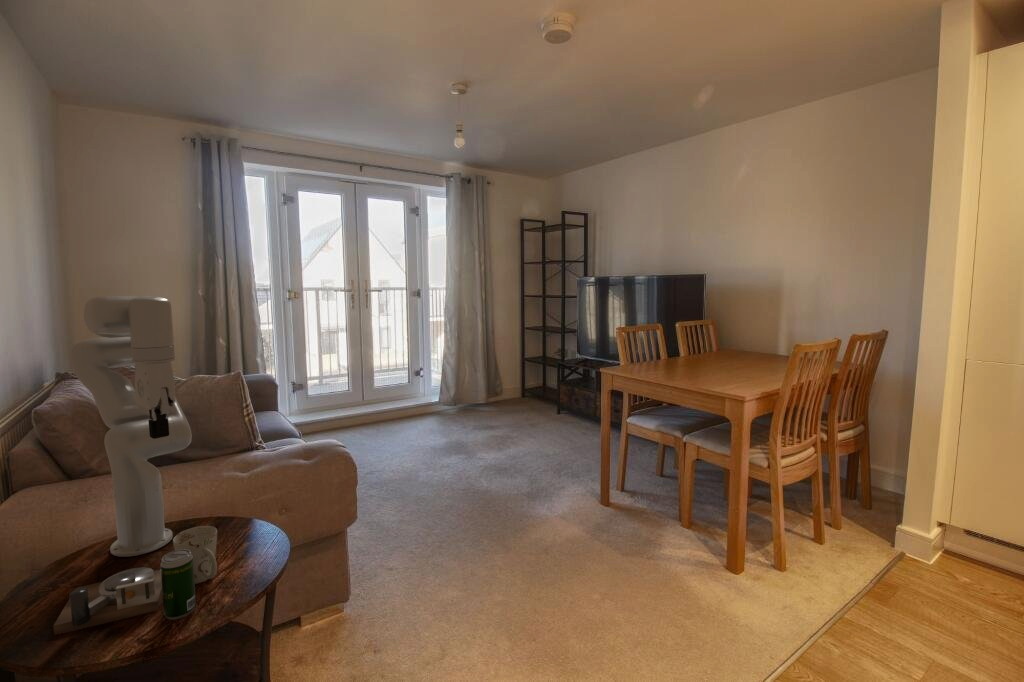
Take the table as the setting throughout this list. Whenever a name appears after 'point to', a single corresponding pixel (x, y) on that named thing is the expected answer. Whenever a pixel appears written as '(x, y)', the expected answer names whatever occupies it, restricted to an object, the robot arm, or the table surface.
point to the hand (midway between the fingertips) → (159, 436)
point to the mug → (200, 550)
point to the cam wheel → (103, 593)
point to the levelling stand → (129, 604)
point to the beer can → (178, 584)
